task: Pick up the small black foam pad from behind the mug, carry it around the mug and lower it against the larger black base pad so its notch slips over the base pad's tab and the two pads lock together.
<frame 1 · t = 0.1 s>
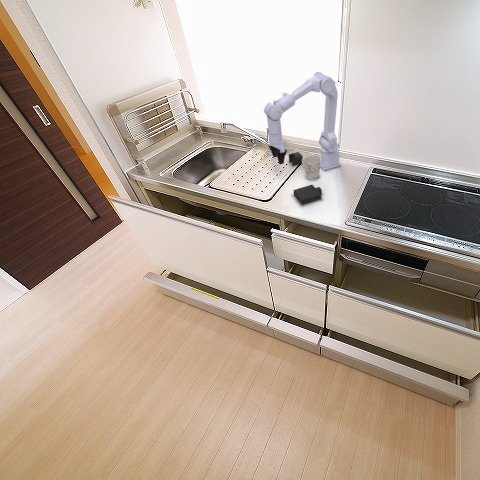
hand: (278, 160, 126), 10 cm above the worktop, tool pointing down, fingers open, 7 cm apart
base pad: (307, 197, 122), on the worktop
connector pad: (295, 162, 145), on the worktop
mug: (310, 175, 136), on the worktop
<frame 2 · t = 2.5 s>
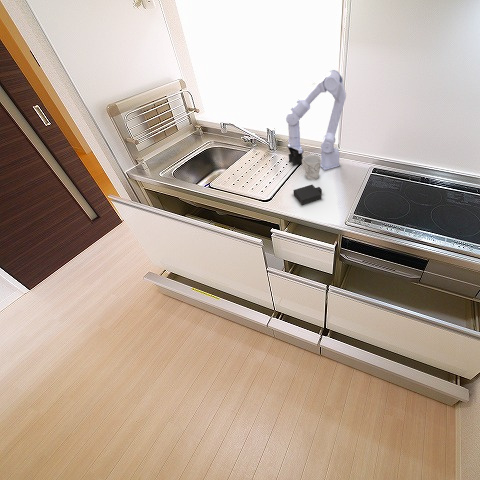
hand: (295, 160, 144), 1 cm above the worktop, tool pointing down, fingers closed on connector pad, 5 cm apart
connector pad: (296, 162, 145), on the worktop, touching gripper
everything else where it was.
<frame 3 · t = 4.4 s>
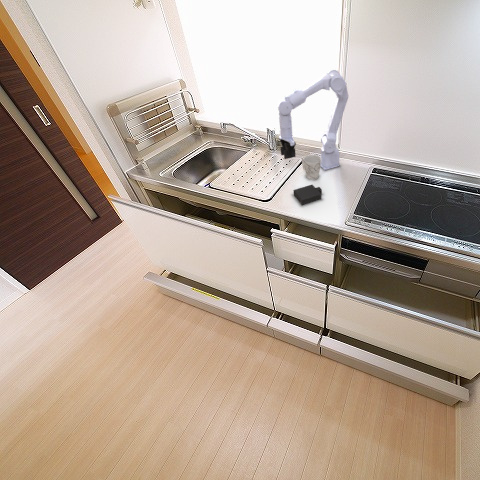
hand: (288, 153, 134), 8 cm above the worktop, tool pointing down, fingers closed on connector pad, 5 cm apart
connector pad: (288, 155, 135), point 7 cm above the worktop, touching gripper
everything else where it was.
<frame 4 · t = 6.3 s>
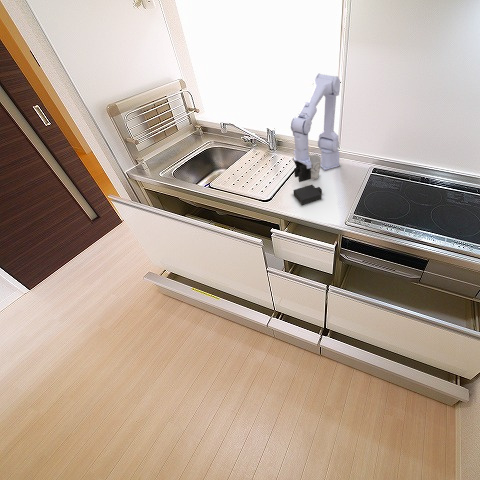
hand: (302, 175, 120), 8 cm above the worktop, tool pointing down, fingers closed on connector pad, 5 cm apart
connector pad: (302, 177, 121), point 7 cm above the worktop, touching gripper
everything else where it was.
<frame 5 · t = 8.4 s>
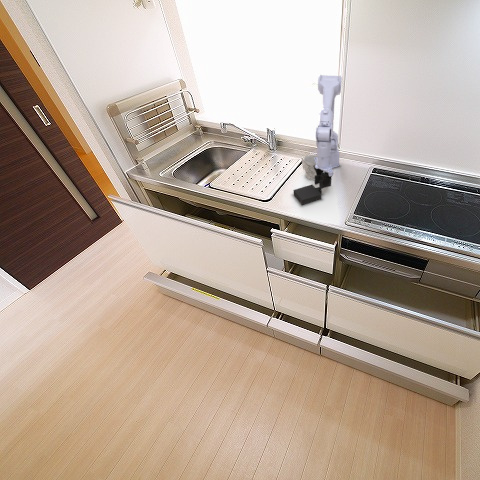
hand: (323, 182, 121), 6 cm above the worktop, tool pointing down, fingers closed on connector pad, 5 cm apart
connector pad: (322, 184, 122), point 4 cm above the worktop, touching gripper
everything else where it was.
when the fingers open (1 cm above the worktop, at t = 10.2 s): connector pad stays where it is, on the worktop.
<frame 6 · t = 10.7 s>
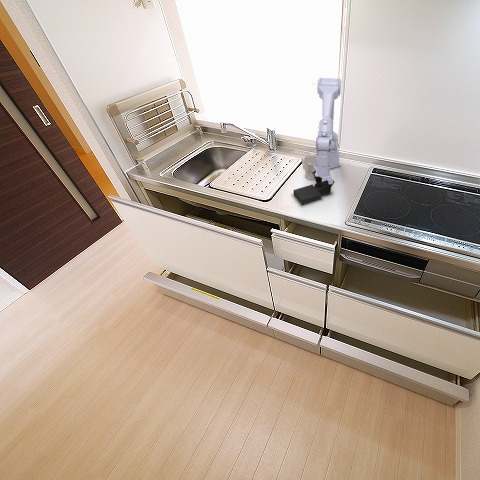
hand: (322, 189, 124), 2 cm above the worktop, tool pointing down, fingers open, 7 cm apart
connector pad: (322, 192, 125), on the worktop
everything else where it was.
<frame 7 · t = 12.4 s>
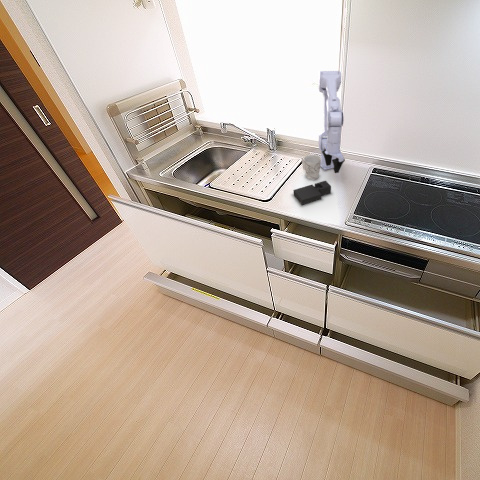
hand: (332, 168, 122), 9 cm above the worktop, tool pointing down, fingers open, 7 cm apart
nothing on the worktop moved.
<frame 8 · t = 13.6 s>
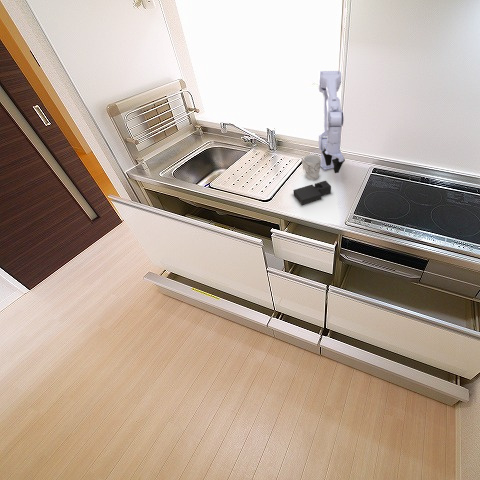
hand: (332, 168, 122), 9 cm above the worktop, tool pointing down, fingers open, 7 cm apart
nothing on the worktop moved.
at the end: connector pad 0.2 cm from the target spot on the worktop beside the base pad, on the worktop; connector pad tilted 0°; the gripper is holding nothing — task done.
